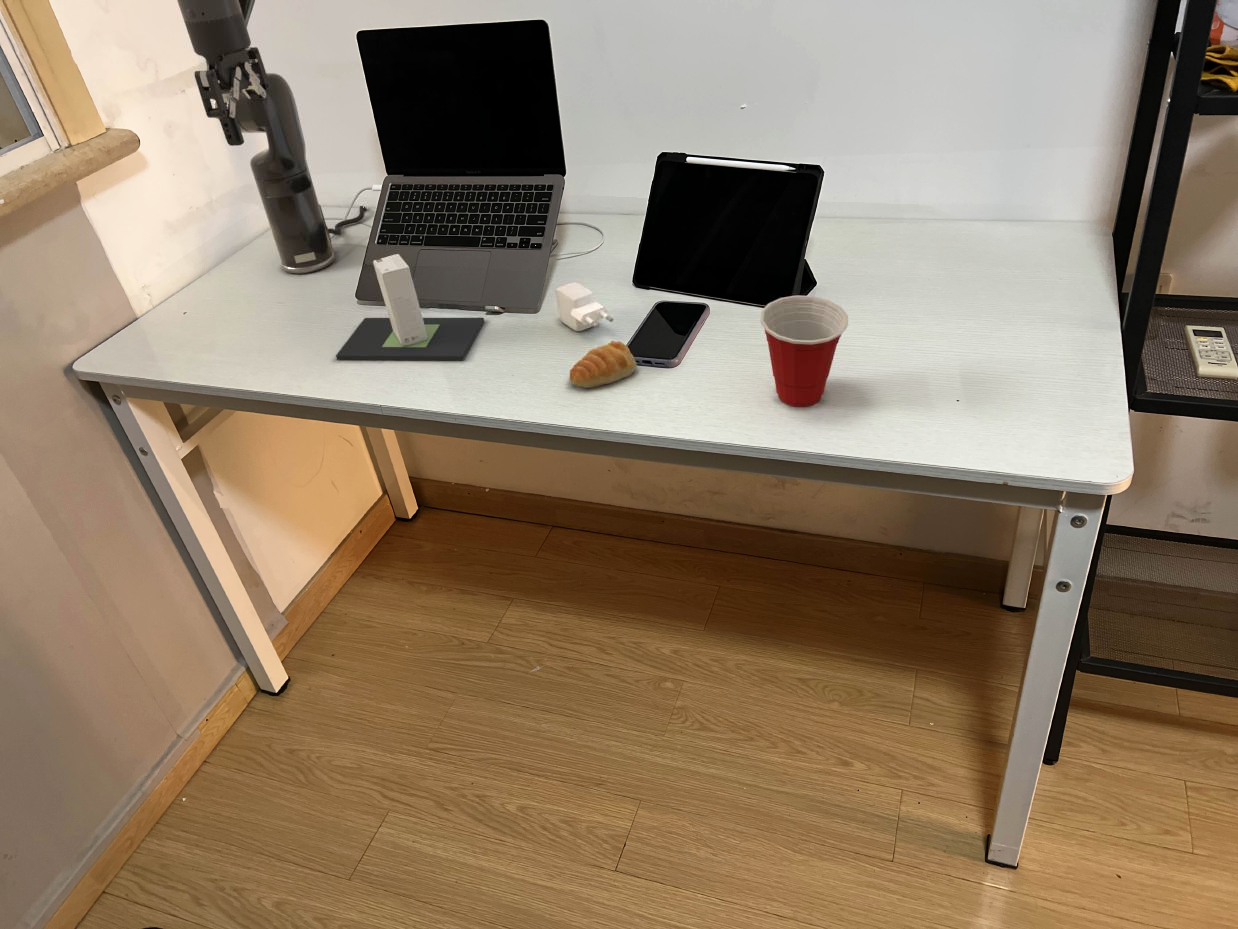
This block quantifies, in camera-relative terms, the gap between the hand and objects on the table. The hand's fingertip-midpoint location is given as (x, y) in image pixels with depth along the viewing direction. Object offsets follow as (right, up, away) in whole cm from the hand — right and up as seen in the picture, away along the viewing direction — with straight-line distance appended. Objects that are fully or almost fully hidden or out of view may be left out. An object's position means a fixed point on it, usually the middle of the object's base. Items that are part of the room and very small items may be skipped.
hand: (251, 135), depth 133 cm
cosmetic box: (+21, -28, +9) cm, 36 cm away
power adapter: (+48, -27, +8) cm, 56 cm away
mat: (+21, -28, +9) cm, 37 cm away
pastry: (+51, -35, -3) cm, 62 cm away
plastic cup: (+77, -39, -12) cm, 87 cm away
